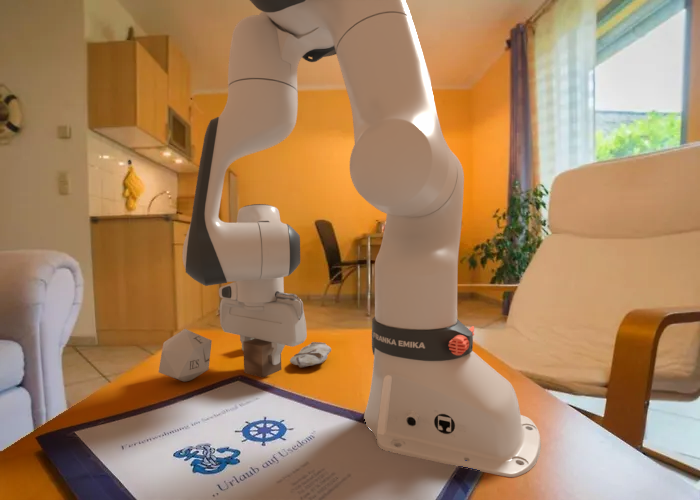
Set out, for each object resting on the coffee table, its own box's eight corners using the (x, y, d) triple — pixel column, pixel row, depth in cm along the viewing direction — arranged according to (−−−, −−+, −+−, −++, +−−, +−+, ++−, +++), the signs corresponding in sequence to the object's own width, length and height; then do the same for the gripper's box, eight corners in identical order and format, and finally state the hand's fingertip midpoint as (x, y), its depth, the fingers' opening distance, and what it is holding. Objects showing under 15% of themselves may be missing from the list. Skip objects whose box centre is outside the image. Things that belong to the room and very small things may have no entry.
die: (194, 395, 61) (192, 336, 60) (148, 391, 63) (145, 334, 62) (221, 375, 69) (220, 323, 69) (180, 372, 71) (178, 321, 70)
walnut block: (281, 369, 72) (280, 339, 71) (262, 378, 67) (261, 346, 67) (263, 364, 74) (262, 335, 74) (244, 372, 70) (243, 342, 70)
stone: (322, 372, 70) (321, 359, 69) (286, 370, 71) (285, 357, 71) (333, 352, 79) (333, 340, 79) (301, 351, 80) (301, 339, 80)
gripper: (313, 292, 67) (314, 365, 68) (238, 284, 78) (240, 347, 79) (289, 297, 62) (291, 377, 62) (213, 288, 73) (215, 355, 74)
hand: (262, 360), depth 71 cm, fingers closed on walnut block, 5 cm apart
